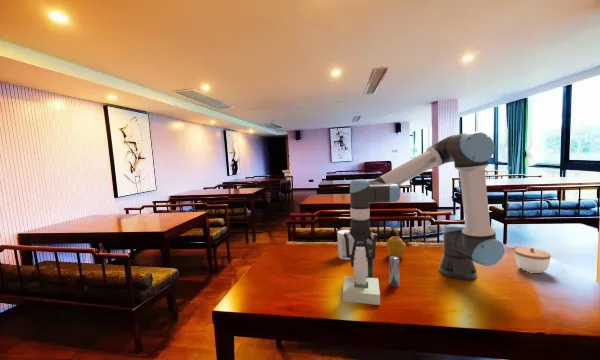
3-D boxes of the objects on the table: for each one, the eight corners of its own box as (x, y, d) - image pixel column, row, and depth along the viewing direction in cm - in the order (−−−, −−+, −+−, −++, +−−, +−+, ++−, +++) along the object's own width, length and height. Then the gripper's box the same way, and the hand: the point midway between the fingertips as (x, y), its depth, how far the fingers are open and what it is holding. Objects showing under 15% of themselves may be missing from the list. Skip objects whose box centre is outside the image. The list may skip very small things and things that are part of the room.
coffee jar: (373, 284, 115) (373, 243, 114) (355, 282, 117) (354, 242, 116) (372, 274, 125) (372, 236, 123) (356, 273, 127) (355, 236, 125)
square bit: (366, 280, 108) (365, 247, 107) (366, 284, 104) (365, 250, 103) (356, 279, 109) (355, 246, 108) (355, 283, 105) (355, 249, 104)
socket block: (378, 287, 112) (378, 278, 112) (380, 305, 99) (380, 294, 98) (345, 284, 116) (345, 275, 115) (342, 301, 102) (342, 291, 102)
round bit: (398, 282, 116) (398, 256, 115) (399, 286, 112) (399, 259, 111) (389, 281, 117) (389, 255, 116) (390, 286, 113) (389, 259, 112)
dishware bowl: (548, 279, 114) (549, 254, 113) (511, 270, 124) (512, 248, 123) (551, 270, 122) (552, 247, 122) (517, 263, 132) (517, 242, 131)
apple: (384, 253, 151) (384, 234, 150) (402, 254, 150) (402, 234, 149) (388, 260, 142) (388, 239, 141) (406, 260, 140) (406, 239, 139)
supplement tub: (358, 256, 148) (358, 231, 147) (348, 261, 141) (348, 235, 140) (344, 253, 155) (343, 228, 154) (334, 257, 148) (333, 232, 147)
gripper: (381, 216, 106) (382, 272, 108) (339, 215, 111) (340, 269, 112) (382, 220, 99) (383, 280, 101) (337, 219, 103) (339, 276, 105)
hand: (360, 274), depth 107 cm, fingers closed on square bit, 4 cm apart
